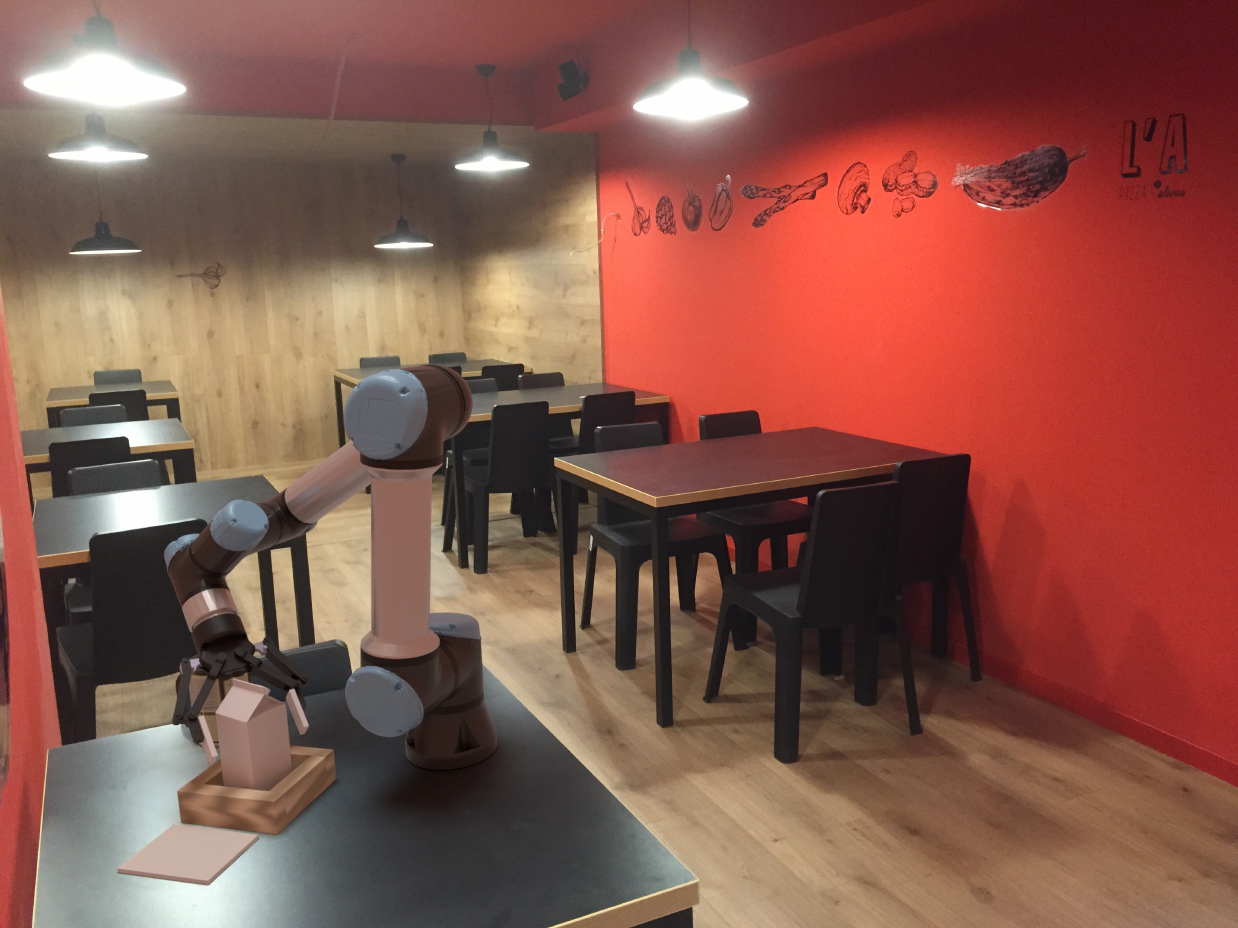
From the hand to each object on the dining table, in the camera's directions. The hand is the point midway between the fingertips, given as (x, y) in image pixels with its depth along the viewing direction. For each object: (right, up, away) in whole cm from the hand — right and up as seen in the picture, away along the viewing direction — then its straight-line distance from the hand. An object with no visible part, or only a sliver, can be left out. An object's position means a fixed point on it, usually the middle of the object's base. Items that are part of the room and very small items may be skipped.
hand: (260, 744), depth 144 cm
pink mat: (-6, -12, -11) cm, 17 cm away
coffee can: (-16, -6, +26) cm, 31 cm away
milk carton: (-1, -10, +3) cm, 10 cm away
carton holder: (-1, -9, +3) cm, 10 cm away
